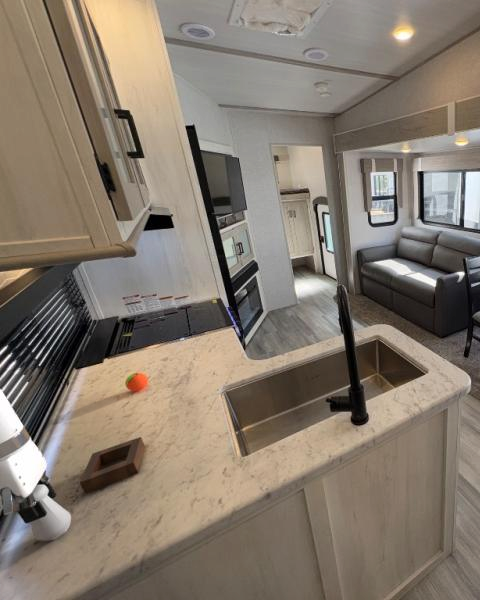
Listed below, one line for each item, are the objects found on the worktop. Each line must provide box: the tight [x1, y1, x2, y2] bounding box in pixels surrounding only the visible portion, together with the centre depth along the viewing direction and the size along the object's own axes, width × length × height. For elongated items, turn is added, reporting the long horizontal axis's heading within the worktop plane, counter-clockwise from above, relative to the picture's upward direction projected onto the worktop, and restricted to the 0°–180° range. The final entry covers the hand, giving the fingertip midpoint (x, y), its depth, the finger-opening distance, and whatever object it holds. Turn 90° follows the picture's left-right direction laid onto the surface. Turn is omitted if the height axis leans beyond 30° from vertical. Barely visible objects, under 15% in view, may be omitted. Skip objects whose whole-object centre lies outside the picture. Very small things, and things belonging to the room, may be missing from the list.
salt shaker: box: [18, 485, 72, 542], centre depth 68 cm, size 6×6×13 cm
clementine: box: [124, 372, 149, 392], centre depth 121 cm, size 8×7×7 cm
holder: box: [79, 436, 146, 495], centre depth 86 cm, size 11×11×4 cm
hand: (41, 508), depth 68 cm, fingers closed on salt shaker, 4 cm apart
